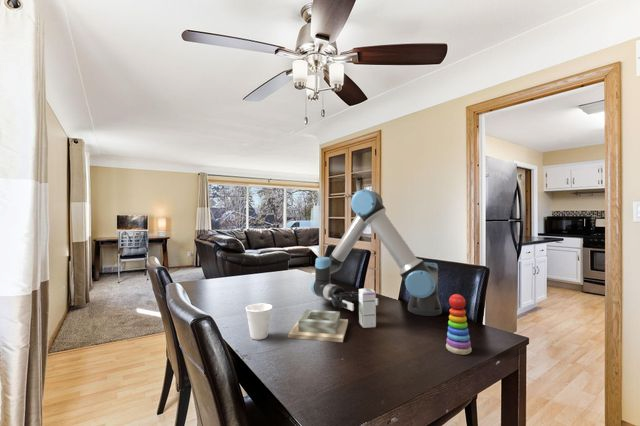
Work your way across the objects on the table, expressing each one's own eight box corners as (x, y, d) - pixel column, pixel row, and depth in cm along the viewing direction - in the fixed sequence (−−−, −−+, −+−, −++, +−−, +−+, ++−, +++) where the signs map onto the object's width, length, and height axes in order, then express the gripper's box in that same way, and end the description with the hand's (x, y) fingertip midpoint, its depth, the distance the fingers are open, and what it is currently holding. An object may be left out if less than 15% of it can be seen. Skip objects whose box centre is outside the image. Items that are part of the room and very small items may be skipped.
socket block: (347, 322, 131) (347, 309, 131) (342, 342, 111) (342, 326, 111) (301, 319, 134) (301, 307, 134) (288, 338, 115) (288, 323, 115)
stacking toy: (466, 345, 108) (466, 292, 108) (475, 356, 100) (475, 298, 100) (442, 344, 109) (443, 291, 109) (450, 355, 101) (450, 297, 101)
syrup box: (376, 327, 126) (376, 291, 126) (362, 328, 125) (362, 291, 125) (371, 322, 131) (371, 287, 131) (358, 323, 130) (358, 288, 130)
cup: (277, 333, 119) (277, 304, 119) (264, 344, 109) (264, 312, 109) (254, 330, 122) (254, 302, 122) (239, 340, 112) (240, 309, 113)
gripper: (354, 297, 153) (386, 308, 135) (312, 305, 139) (341, 319, 121) (355, 282, 153) (387, 291, 135) (312, 289, 139) (341, 300, 121)
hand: (365, 304), depth 128 cm, fingers open, 13 cm apart
